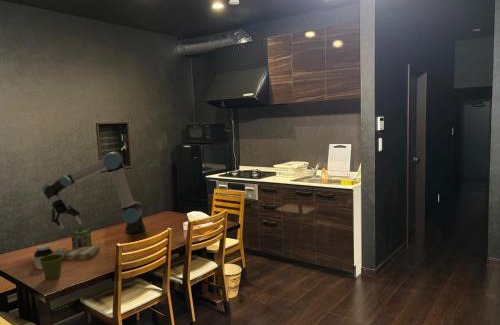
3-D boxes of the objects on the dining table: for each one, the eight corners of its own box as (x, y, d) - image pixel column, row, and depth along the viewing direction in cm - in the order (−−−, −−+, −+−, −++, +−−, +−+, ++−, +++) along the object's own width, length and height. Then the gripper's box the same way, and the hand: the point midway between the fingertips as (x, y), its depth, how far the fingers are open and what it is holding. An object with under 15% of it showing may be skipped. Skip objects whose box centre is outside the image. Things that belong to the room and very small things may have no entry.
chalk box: (84, 250, 253) (82, 228, 251) (71, 250, 255) (70, 228, 253) (92, 246, 262) (90, 225, 260) (80, 245, 264) (78, 224, 262)
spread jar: (50, 261, 234) (48, 243, 233) (58, 265, 227) (57, 246, 226) (29, 267, 225) (27, 248, 224) (37, 271, 218) (35, 252, 216)
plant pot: (35, 280, 205) (33, 260, 203) (54, 272, 216) (52, 253, 214) (51, 283, 200) (50, 262, 199) (69, 274, 211) (68, 255, 210)
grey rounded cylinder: (68, 256, 241) (67, 247, 241) (64, 260, 235) (63, 250, 235) (58, 257, 241) (57, 248, 240) (54, 260, 235) (53, 251, 234)
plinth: (99, 250, 252) (99, 245, 251) (91, 258, 236) (91, 253, 235) (74, 252, 250) (74, 247, 250) (65, 260, 234) (64, 255, 234)
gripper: (71, 202, 279) (85, 224, 273) (37, 209, 258) (52, 233, 252) (75, 196, 276) (89, 218, 270) (41, 202, 255) (56, 227, 249)
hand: (71, 225), depth 261 cm, fingers open, 13 cm apart
